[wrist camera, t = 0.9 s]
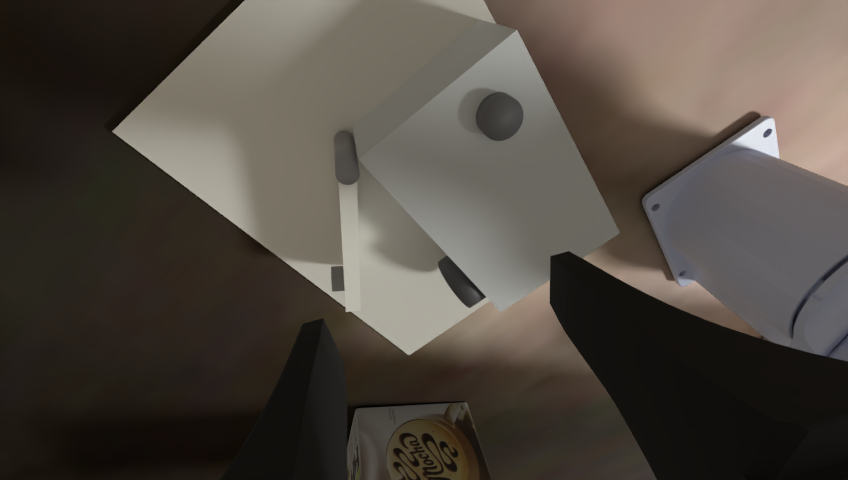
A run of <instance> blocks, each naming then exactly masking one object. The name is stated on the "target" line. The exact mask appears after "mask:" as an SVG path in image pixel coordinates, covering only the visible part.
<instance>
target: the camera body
mask: <svg viewBox="0 0 848 480" xmlns="http://www.w3.org/2000/svg"><path fill="white" fill-rule="evenodd" d="M353 132H354V137H355V143H356V149H357V155H358V160H359V161H360V162H361V163H362V164H363V165H364V166H365V167H366V168H367V169H368V171H369V172H370V173H371V174H372V175H373V176H374V177H375V178H376V179H377V180H378V181H379V182H380V183H381V184H382V186H383V187H384V188H385V189H386V190H387V191H388V192H389V193H390V194H391V195H392V196H393V197H394V198H395V199H396V201H397V202H398V203H399V204H400V205H401V206H402V207H403V208H404V209H405V210H406V211H407V212H408V213H409V215H410V216H411V217H412V218H413V219H414V220H415V221H416V222H417V223H418V224H419V225H420V226H421V227H422V228H423V230H424V231H425V232H426V233H427V234H428V235H429V236H430V237H431V238H432V239H433V240H434V241H435V242H436V243H437V245H438V246H439V247H440V248H441V249H442V250H443V251H444V252H445V253H446V254H447V256H446V257H444V258H443V259H441V260H440V261H439V262H438V267H439V269H440V272H441V274H442V276H443V277H444V279H445V281H446V282H447V284H448V285H449V287H450V288H451V290H452V291H453V292H454V294H455V295H456V296H457V297H458V299H459V300H460V301H461V302H462V303H463V304H464V305H465V306H467V307H468V308H471V307H473V306H474V305H476V304H477V303H478V302H480V301H481V300H483V299H484V298H486V297H487V298H488V299H489V300H490V301H491V302H492V304H493V305H494V306H495V307H496V308H497V309H498V310H499V311H500V312H502V311H504V310H505V309H507V308H508V307H510V306H511V305H513V304H514V303H516V302H517V301H519V300H520V299H522V298H523V297H525V296H526V295H528V294H529V293H531V292H532V291H534V290H535V289H537V288H538V287H540V286H541V285H543V284H544V283H546V282H547V281H549V280H550V256H552V255H556V254H560V253H563V252H567V251H570V252H571V253H573V254H575V255H577V256H579V257H580V258H583V257H585V256H586V255H588V254H589V253H591V252H592V251H594V250H595V249H597V248H598V247H600V246H601V245H603V244H604V243H606V242H607V241H609V240H610V239H612V238H613V237H615V236H616V235H618V234H619V233H620V231H619V229H618V227H617V225H616V223H615V221H614V220H613V218H612V216H611V214H610V212H609V210H608V208H607V206H606V204H605V202H604V200H603V198H602V196H601V194H600V192H599V190H598V188H597V186H596V184H595V182H594V180H593V178H592V176H591V174H590V172H589V170H588V168H587V166H586V164H585V162H584V161H583V159H582V157H581V155H580V153H579V151H578V149H577V147H576V145H575V143H574V141H573V139H572V137H571V135H570V133H569V131H568V129H567V127H566V125H565V123H564V121H563V119H562V117H561V115H560V113H559V111H558V109H557V107H556V105H555V103H554V102H553V100H552V98H551V96H550V94H549V92H548V90H547V88H546V86H545V84H544V82H543V80H542V78H541V76H540V74H539V72H538V70H537V68H536V66H535V64H534V62H533V60H532V58H531V56H530V54H529V52H528V50H527V48H526V46H525V44H524V43H523V41H522V39H521V37H520V35H519V33H518V31H517V30H516V29H512V28H509V27H505V26H502V25H498V24H494V23H491V22H487V21H483V20H480V19H479V20H478V21H477V22H476V23H475V24H474V25H472V26H471V27H470V28H469V29H468V30H466V31H465V32H464V33H463V34H462V35H461V36H459V37H458V38H457V39H456V40H455V41H453V42H452V43H451V44H450V45H449V46H447V47H446V48H445V49H444V50H443V51H442V52H440V53H439V54H438V55H437V56H436V57H434V58H433V59H432V60H431V61H430V62H428V63H427V64H426V65H425V66H424V67H423V68H421V69H420V70H419V71H418V72H417V73H415V74H414V75H413V76H412V77H411V78H410V79H408V80H407V81H406V82H405V83H404V84H402V85H401V86H400V87H399V88H398V89H396V90H395V91H394V92H393V93H392V94H391V95H389V96H388V97H387V98H386V99H385V100H383V101H382V102H381V103H380V104H379V105H378V106H376V107H375V108H374V109H373V110H372V111H370V112H369V113H368V114H367V115H366V116H364V117H363V118H362V119H361V120H360V121H359V122H357V123H356V124H355V125H354V126H353Z"/></svg>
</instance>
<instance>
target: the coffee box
mask: <svg viewBox="0 0 848 480" xmlns="http://www.w3.org/2000/svg"><path fill="white" fill-rule="evenodd" d="M347 467H348V480H492V477H491V474H490V471H489V468H488V464H487V462H486V459H485V456H484V453H483V450H482V447H481V444H480V441H479V438H478V435H477V432H476V429H475V426H474V423H473V420H472V417H471V414H470V411H469V408H468V404H467V403H466V402H459V403H444V404H425V405H407V406H389V407H372V408H357V409H356V410H355V414H354V418H353V423H352V427H351V432H350V436H349V441H348V446H347Z"/></svg>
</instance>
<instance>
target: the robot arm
mask: <svg viewBox="0 0 848 480" xmlns="http://www.w3.org/2000/svg"><path fill="white" fill-rule="evenodd" d="M642 205H643V207H644V210H645V212H646V214H647V217H648V219H649V221H650V224H651V226H652V228H653V230H654V233H655V235H656V237H657V240H658V242H659V244H660V247H661V249H662V251H663V254H664V256H665V258H666V260H667V263H668V265H669V267H670V270H671V272H672V274H673V277H674V279H675V281H676V283H677V284H678V285H679V286H681V287H683V286H687V285H688V284H690V283H692V282H693V281H696V282H697V283H699V284H700V285H701V286H702V287H703V288H705V289H706V290H707V291H708V292H710V293H711V294H712V295H713V296H714V297H716V298H717V299H718V300H719V301H721V302H722V303H723V304H724V305H725V306H727V307H728V308H729V309H730V310H731V311H733V312H734V313H735V314H736V315H738V316H739V317H740V318H741V319H742V320H744V321H745V322H746V323H747V324H748V325H750V326H751V327H752V328H753V329H755V330H756V331H757V332H758V333H759V334H761V335H762V336H764V337H765V338H767V339H768V340H770V341H771V342H769V341H766V340H763V339H759V338H756V337H753V336H750V335H747V334H744V333H741V332H738V331H735V330H732V329H729V328H726V327H723V326H720V325H718V324H715V323H712V322H709V321H707V320H704V319H702V318H699V317H697V316H694V315H692V314H690V313H687V312H685V311H682V310H680V309H677V308H675V307H673V306H671V305H668V304H666V303H664V302H662V301H660V300H658V299H656V298H654V297H652V296H650V295H648V294H645V293H644V292H642V291H640V290H638V289H636V288H634V287H632V286H630V285H628V284H626V283H624V282H623V281H621V280H619V279H617V278H615V277H613V276H612V275H610V274H608V273H606V272H605V271H603V270H601V269H599V268H598V267H596V266H594V265H592V264H591V263H589V262H587V261H586V260H584V259H582V258H580V257H579V256H577V255H575V254H573V253H571V252H570V251H567V252H563V253H560V254H556V255H552V256H550V304H551V306H552V308H553V310H554V312H555V314H556V316H557V318H558V320H559V322H560V323H561V325H562V327H563V329H564V331H565V332H566V334H567V335H568V337H569V338H570V339H571V341H572V342H573V344H574V345H575V347H576V348H577V349H578V351H579V352H580V354H581V355H582V356H583V358H584V359H585V361H586V362H587V363H588V365H589V366H590V368H591V369H592V370H593V372H594V373H595V375H596V376H597V377H598V379H599V380H600V382H601V383H602V384H603V386H604V387H605V389H606V390H607V392H608V393H609V395H610V396H611V398H612V399H613V401H614V402H615V404H616V406H617V408H618V409H619V411H620V413H621V415H622V416H623V418H624V420H625V421H626V423H627V425H628V427H629V428H630V430H631V432H632V434H633V436H634V437H635V439H636V441H637V443H638V445H639V447H640V448H641V450H642V452H643V454H644V456H645V458H646V459H647V461H648V463H649V465H650V467H651V469H652V471H653V473H654V475H655V476H656V478H657V480H848V186H846V185H843V184H841V183H838V182H836V181H833V180H831V179H828V178H826V177H823V176H821V175H818V174H816V173H813V172H811V171H808V170H806V169H803V168H801V167H798V166H796V165H793V164H791V163H788V162H786V161H783V160H781V159H780V158H779V151H778V143H777V136H776V129H775V122H774V119H773V118H772V117H769V116H762V117H760V118H759V119H757V120H756V121H754V122H753V123H751V124H750V125H748V126H747V127H745V128H744V129H742V130H741V131H739V132H738V133H736V134H735V135H733V136H732V137H730V138H729V139H727V140H726V141H724V142H723V143H722V144H720V145H719V146H717V147H716V148H714V149H713V150H711V151H710V152H708V153H707V154H705V155H704V156H702V157H701V158H699V159H698V160H696V161H695V162H693V163H692V164H690V165H689V166H688V167H686V168H685V169H683V170H682V171H680V172H679V173H677V174H676V175H674V176H673V177H671V178H670V179H668V180H667V181H665V182H664V183H662V184H661V185H659V186H658V187H656V188H655V189H653V190H652V191H651V192H649V193H648V194H646V195H645V196H644V198H643V200H642ZM220 480H347V389H346V380H345V372H344V364H343V360H342V358H341V356H340V353H339V351H338V349H337V347H336V345H335V343H334V340H333V338H332V336H331V334H330V332H329V329H328V327H327V325H326V323H325V321H324V318H323V319H319V320H315V321H312V322H308V323H304V324H303V325H302V327H301V329H300V331H299V334H298V336H297V339H296V341H295V344H294V346H293V349H292V351H291V353H290V356H289V358H288V360H287V363H286V365H285V367H284V369H283V371H282V373H281V376H280V378H279V380H278V382H277V384H276V386H275V388H274V390H273V392H272V394H271V396H270V398H269V400H268V402H267V404H266V406H265V408H264V410H263V411H262V413H261V415H260V417H259V419H258V421H257V423H256V424H255V426H254V428H253V429H252V431H251V433H250V435H249V436H248V438H247V440H246V441H245V443H244V444H243V446H242V448H241V449H240V451H239V452H238V454H237V456H236V457H235V459H234V460H233V462H232V463H231V465H230V466H229V467H228V469H227V470H226V472H225V473H224V475H223V476H222V478H221V479H220Z"/></svg>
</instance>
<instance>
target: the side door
mask: <svg viewBox="0 0 848 480" xmlns="http://www.w3.org/2000/svg"><path fill="white" fill-rule="evenodd" d="M334 154H335V175H336V178H337V180H338V182H339V200H340V218H341V236H342V253H343V266H332V267H331V282H332V292H335V291H345V305H346V312H350V311H361V300H360V266H359V232H358V197H357V181H358V179H359V176H360V172H359V166H358V160H357V154H356V148H355V142H354V137H353V135H352V134H351V133H350V132H348V131H339V132H338V133H336V135H335V137H334Z"/></svg>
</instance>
